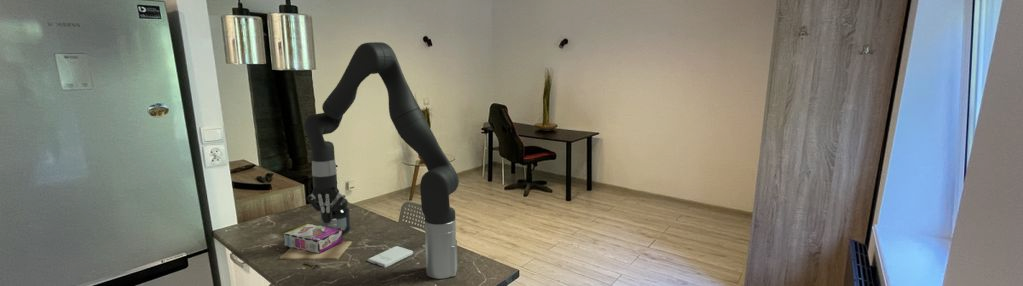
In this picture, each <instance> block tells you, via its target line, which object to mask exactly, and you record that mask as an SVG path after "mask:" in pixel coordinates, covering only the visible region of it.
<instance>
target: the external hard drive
mask: <svg viewBox="0 0 1023 286" xmlns="http://www.w3.org/2000/svg"><path fill="white" fill-rule="evenodd" d="M412 255H414V251H413V250H411V249H407V248H405V247H401V246H398V245H396V246H395V245H394V246H393V247H390V248H388V249H386V250H385V251H383V252H380V253H378V254H376V255H374V256H372V257H369V258H367V262H369V263H372V264H374V265H378V266H380V267H383V268H387V267H389V266H391V265H393V264H395V263H398V262H399V261H401V260H403V259H405V258H407V257H409V256H412Z"/></svg>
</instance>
